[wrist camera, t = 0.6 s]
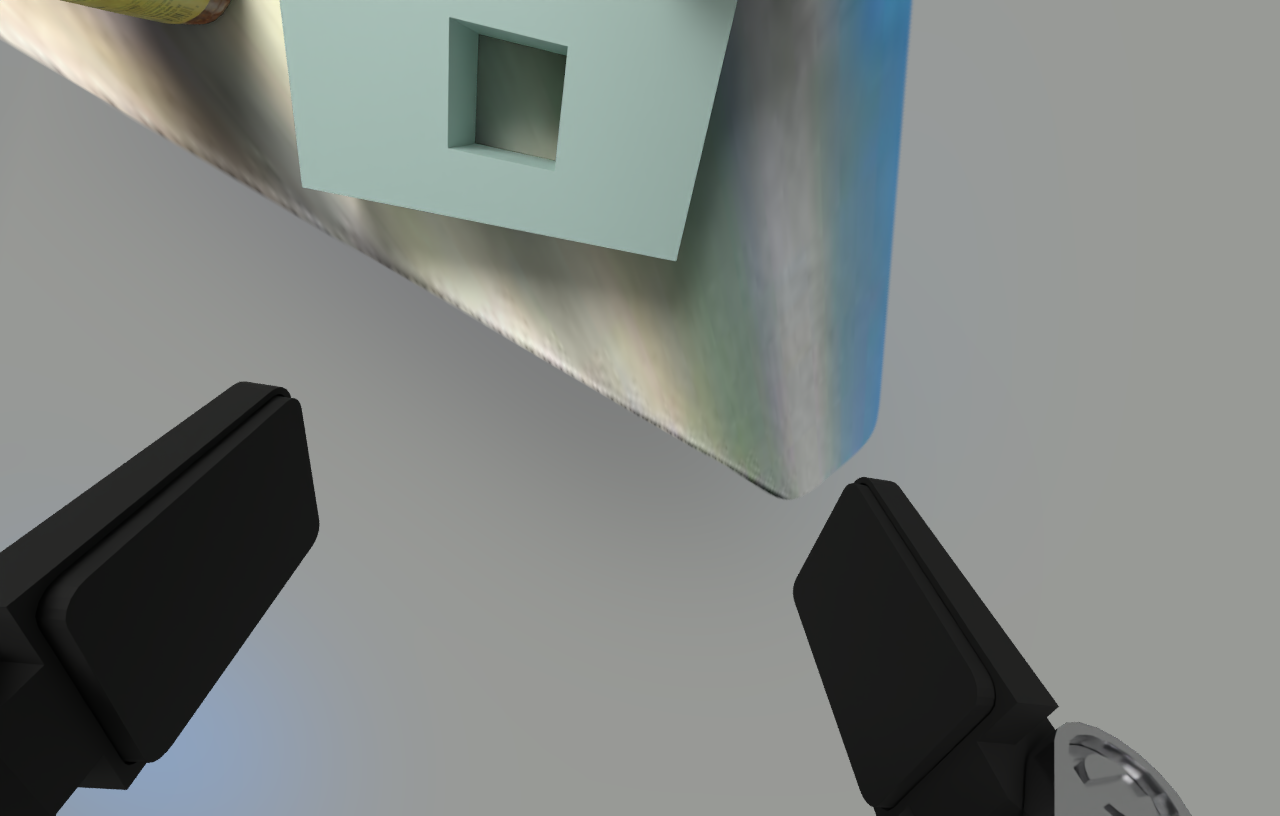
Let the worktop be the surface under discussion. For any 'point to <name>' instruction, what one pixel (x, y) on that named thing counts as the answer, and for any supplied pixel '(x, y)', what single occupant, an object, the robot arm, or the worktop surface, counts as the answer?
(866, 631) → the robot arm
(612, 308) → the worktop surface
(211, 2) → the sauce bottle
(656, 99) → the block
